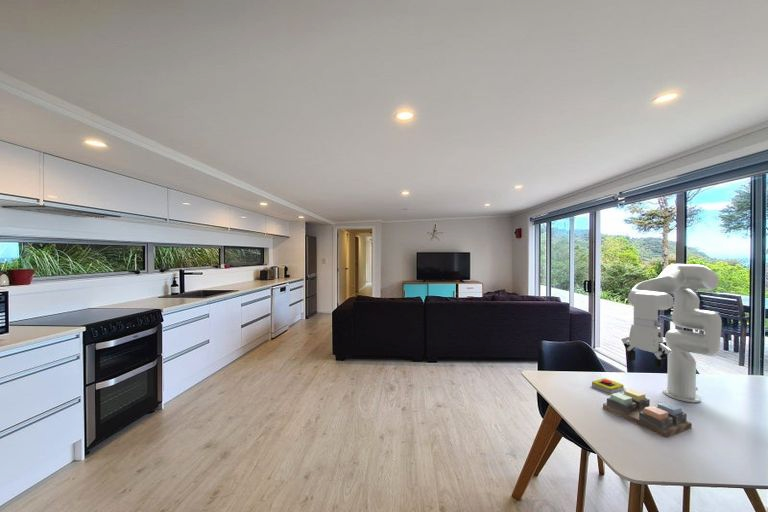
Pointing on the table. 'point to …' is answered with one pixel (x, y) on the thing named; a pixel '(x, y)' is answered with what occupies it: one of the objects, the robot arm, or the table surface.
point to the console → (648, 417)
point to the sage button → (621, 398)
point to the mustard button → (635, 395)
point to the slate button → (670, 408)
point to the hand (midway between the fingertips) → (645, 364)
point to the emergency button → (607, 386)
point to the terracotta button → (656, 413)
